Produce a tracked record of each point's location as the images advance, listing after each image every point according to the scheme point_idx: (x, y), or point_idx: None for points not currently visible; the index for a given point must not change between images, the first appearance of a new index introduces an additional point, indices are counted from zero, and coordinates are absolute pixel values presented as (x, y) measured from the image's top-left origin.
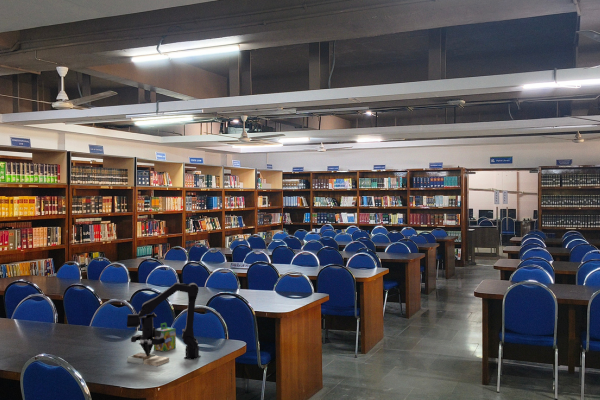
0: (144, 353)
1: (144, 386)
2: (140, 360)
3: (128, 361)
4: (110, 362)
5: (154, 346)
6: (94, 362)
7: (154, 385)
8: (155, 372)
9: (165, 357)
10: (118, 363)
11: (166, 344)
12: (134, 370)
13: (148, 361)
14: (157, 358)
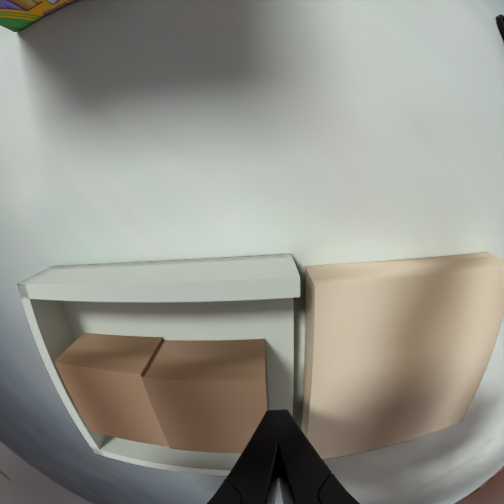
0: (75, 299)
1: (464, 494)
2: None
3: None
4: (55, 438)
5: (2, 20)
6: (19, 437)
7: (490, 475)
8: (469, 447)
9: (485, 282)
10: None
11: None
12: None
13: (366, 446)
14: (421, 366)
